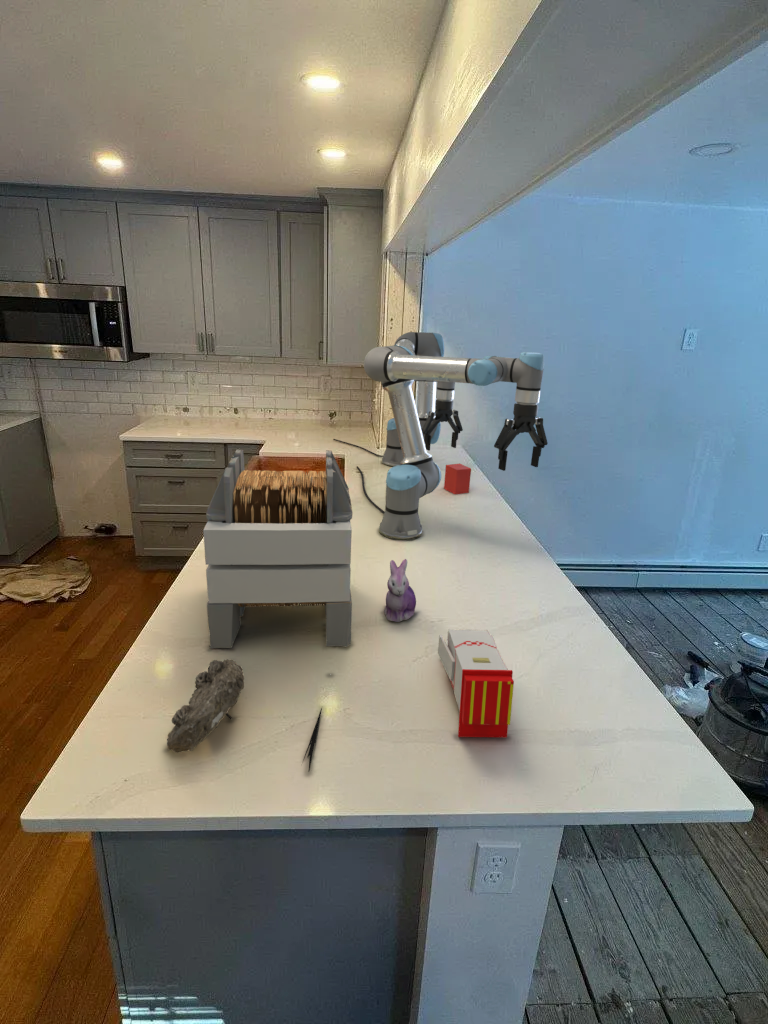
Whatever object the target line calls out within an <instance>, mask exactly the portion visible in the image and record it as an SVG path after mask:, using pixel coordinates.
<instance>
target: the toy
mask: <svg viewBox="0 0 768 1024" xmlns="http://www.w3.org/2000/svg"><path fill="white" fill-rule="evenodd" d="M446 640H447V643H446V641H445V639H444V636H443V635H442V634H439V637H438V646H437V656H438V657H439V659H440V661H441V663H442V666H443V668H444V670H445V672H446V674H447V677H448V679H449V681H450V684H451V687H452V690H453V693H454V697H455V701H456V705H457V708H458V711H459V714H458V715H459V716H458V730H457V731H458V732H457V737H458V738H508V731H509V726H510V725H511V717H512V707H513V697H514V696H513V695H514V684H515V680H514V679H513V673H514V671H513V670H512V669H508V667H507V665H506V662H505V661H504V659H503V658H502V655H501V653H500V651H499V649H498V647H497V643H496V639H495V637H494V635H493V634H491V632H490V631H489V629H467V628H466V629H465V628H463V629H461V628H460V629H459V628H448V630H447V639H446Z"/></svg>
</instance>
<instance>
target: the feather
mask: <svg viewBox="0 0 768 1024" xmlns="http://www.w3.org/2000/svg"><path fill="white" fill-rule="evenodd" d="M329 675H330V676H331V675H332V674H331V673H330V674H329ZM322 710H323V707H321V708H320V710H319V713H318V716H317V719H316V723H315V725H314V728H313V731H312V733H311V737H310V739H309V742H308V745H307V748H306V751H305V754H304V757H303V760H302V763H301V767H302V765H303V763H304V761H305V758H308V759H309V760H308V762H307V763H308V764H307V766H308V771H310V770H311V766H312V765H311V764H312V760H313V757H315V756H314V755H315V751H316V749H315V746H317V739H318V733H319V729H320V722H321V717H322V712H323V711H322ZM313 754H314V755H313ZM306 755H307V757H306Z"/></svg>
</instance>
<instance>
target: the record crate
mask: <svg viewBox="0 0 768 1024" xmlns="http://www.w3.org/2000/svg"><path fill="white" fill-rule="evenodd" d="M307 471H308V470H307ZM307 471H305V470H282V471H276V470H264V469H263V470H262V469H261V470H256V469H255V470H254V469H253V470H249V469H245V454H244V449H238V448H237V449H235V451H234V454H233V456H231V458H230V460H229V462H228V465H227V467H225V468H224V471H223V473H222V475H221V477H220V480H219V481H218V484H217V487H216V489H215V491H214V493H213V496H212V498H211V500H210V502H209V504H208V506H207V509H206V512H205V516H206V520H207V521H206V524H205V526H204V527H203V530H202V531H203V545H204V559H205V561H204V562H205V565H206V566H207V567H206V570H205V574H206V575H205V576H206V588H207V589H206V590H207V603H206V611H207V612H206V614H207V626H208V634H209V645H208V647H209V648H210V649H212V650H216V649H232V648H233V645H234V643H235V640H236V638H237V635H238V633H239V631H240V628H241V625H242V623H241V617H244V614H245V613H244V612H245V610H246V607H248V608H249V607H252V608H253V607H254V608H255V607H258V608H259V607H260V608H261V607H300V606H301V607H307V606H309V607H310V606H312V607H315V606H316V607H317V606H319V607H320V606H324V607H325V608H324V609H325V647H345V648H347V647H349V646H350V645H352V620H353V617H352V616H353V614H352V613H353V600H352V592H351V571H352V570H351V564H352V563H351V562H352V561H351V560H352V533H353V530H352V529H353V528H352V523H351V520H352V519H353V508H352V507H353V506H352V501H351V495H350V488H349V486H348V484H347V481H346V480H345V478H344V475H343V473H342V470H341V469H340V467H339V463H338V462H337V460H336V457H335V456H334V453H333V451H332V450H325V470H319V471H317V470H309V471H308V472H307Z"/></svg>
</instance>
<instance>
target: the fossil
mask: <svg viewBox="0 0 768 1024" xmlns="http://www.w3.org/2000/svg"><path fill="white" fill-rule="evenodd" d="M243 670H244V669H243V667H242V665H240V664H237V662H236V661H235V660H234V659H232V658H231V659H227V658H226V659H224V660H223V661H222V660H217V659H212V660H211V661H210V663H209V665H208V666H207V671H201V672H199V673H198V674H197V675H196V676H195V680H194V684H195V685H194V687H195V689H194V690H193V693H192V694H191V697H190V698H189V700H188V704H184V705H182V706H181V707H180V709H177V710H176V711H175V713H174V715H173V716H172V718H171V723H172V724H173V727H172V730H171V731H170V732H168V734H167V738H166V741H167V742H166V745H167V749H168V750H169V751H173V752H174V753H176V754H178V753H182V752H188V751H189V752H192V751H193V750H195V748H196V747H197V746H199V744H200V743H201V742H203V741H204V740H205V739H206V738H207V737H208V736H209V735H210V734H211V733H212V732H214V730H215V729H217V727H218V726H219V724H220V722H221V721H222V720H223V719H224V718H225V716H226V717H227V719H229V720H233V717H232V715H230V714H229V710H230V709H231V708H234V706H235V704H236V703H237V702H238V699H239V697H240V695H241V693H242V691H243V690H245V689H244V688H245V675H244V671H243Z"/></svg>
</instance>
